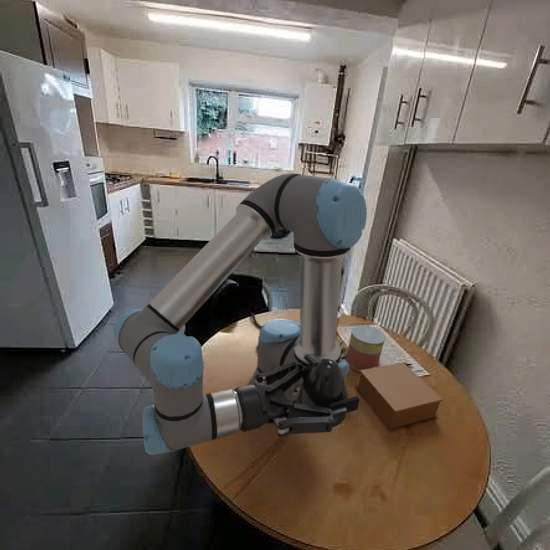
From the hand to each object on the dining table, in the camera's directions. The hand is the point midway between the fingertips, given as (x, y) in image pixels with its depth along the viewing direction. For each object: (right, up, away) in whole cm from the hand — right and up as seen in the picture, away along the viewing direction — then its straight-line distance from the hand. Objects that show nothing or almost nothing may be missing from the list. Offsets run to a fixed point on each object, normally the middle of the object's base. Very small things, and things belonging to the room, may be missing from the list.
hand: (342, 384), depth 64 cm
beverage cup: (+9, -1, +64) cm, 65 cm away
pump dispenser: (-5, -8, +2) cm, 10 cm away
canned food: (+17, -9, +48) cm, 51 cm away
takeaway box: (+22, -16, +31) cm, 41 cm away
